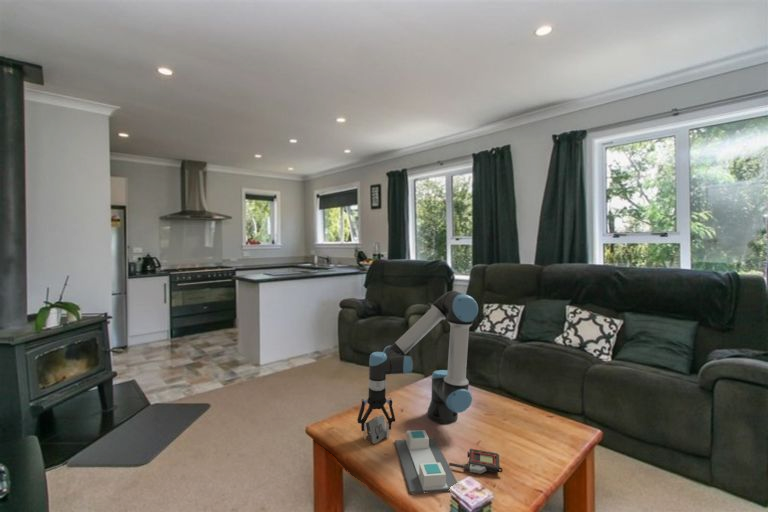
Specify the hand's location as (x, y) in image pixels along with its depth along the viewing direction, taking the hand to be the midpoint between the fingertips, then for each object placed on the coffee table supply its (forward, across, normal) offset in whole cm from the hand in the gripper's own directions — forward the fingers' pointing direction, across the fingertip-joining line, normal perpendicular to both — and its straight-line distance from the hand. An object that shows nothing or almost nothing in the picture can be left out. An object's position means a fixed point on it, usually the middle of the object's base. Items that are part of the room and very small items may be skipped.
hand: (376, 437), depth 158 cm
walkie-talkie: (-4, +36, -25) cm, 44 cm away
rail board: (+1, +17, -20) cm, 26 cm away
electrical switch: (+1, 0, 0) cm, 1 cm away
